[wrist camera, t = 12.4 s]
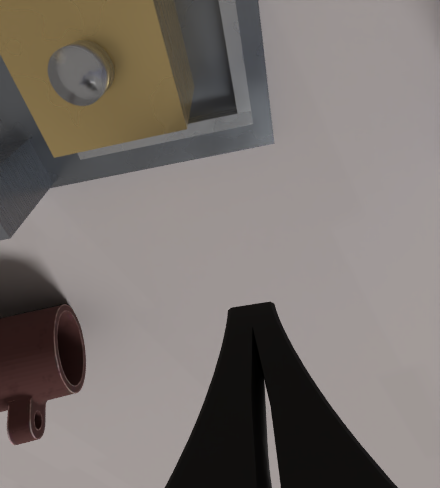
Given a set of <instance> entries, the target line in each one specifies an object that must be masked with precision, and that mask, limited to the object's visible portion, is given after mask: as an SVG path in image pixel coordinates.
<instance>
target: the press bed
mask: <svg viewBox="0 0 440 488" xmlns="http://www.w3.org/2000/svg"><path fill="white" fill-rule="evenodd" d="M174 2H175V6H176V11H177V15H178V19H179V23H180V28H181V32H182V36H183V40H184V44H185V49H186V53H187V57H188V61H189V66H190V70H191V74H192V78H193V83H194V93H193V98H192V104H191V110H190V116H189V121H188V127H187V129H186V130H181V131H177V132H172V133H167V134H163V135H158V136H153V137H149V138H144V139H139V140H135V141H130V142H125V143H121V144H116V145H111V146H107V147H102V148H98V149H93V150H88V151H84V152H79V153H74V154H70V155H65V156H60V157H56V158H54V157H53V155H52V153H51V151H50V149H49V147H48V145H47V143H46V141H45V139H44V138H43V136H42V134H41V132H40V130H39V128H38V126H37V124H36V122H35V120H34V118H33V116H32V115H31V113H30V111H29V109H28V107H27V105H26V103H25V101H24V99H23V97H22V95H21V93H20V91H19V90H18V88H17V86H16V84H15V82H14V80H13V78H12V76H11V74H10V72H9V70H8V68H7V66H6V65H5V63H4V61H3V59H2V57H1V55H0V240H4V239H9V238H11V237H12V235H13V234H14V233H15V232H16V230H17V229H18V228H19V227H20V225H21V224H22V223H23V222H24V220H25V219H26V218H27V216H28V215H29V214H30V213H31V211H32V210H33V209H34V208H35V206H36V205H37V204H38V202H39V201H40V200H41V199H42V197H43V196H44V195H45V194H46V192H47V191H48V190H49V188H53V187H58V186H63V185H68V184H73V183H78V182H83V181H88V180H93V179H98V178H103V177H108V176H113V175H118V174H123V173H128V172H133V171H138V170H143V169H148V168H153V167H159V166H164V165H169V164H174V163H179V162H184V161H189V160H194V159H199V158H204V157H209V156H214V155H219V154H224V153H229V152H234V151H239V150H244V149H249V148H254V147H259V146H264V145H269V144H274V138H273V129H272V120H271V111H270V102H269V93H268V84H267V76H266V67H265V58H264V49H263V40H262V31H261V22H260V13H259V5H258V0H174Z"/></svg>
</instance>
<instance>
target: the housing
mask: <svg viewBox="0 0 440 488" xmlns="http://www.w3.org/2000/svg"><path fill="white" fill-rule="evenodd" d="M0 55H1V57H2V59H3V61H4V63H5V65H6V66H7V68H8V70H9V72H10V74H11V76H12V78H13V80H14V82H15V84H16V86H17V88H18V90H19V91H20V93H21V95H22V97H23V99H24V101H25V103H26V105H27V107H28V109H29V111H30V113H31V115H32V116H33V118H34V120H35V122H36V124H37V126H38V128H39V130H40V132H41V134H42V136H43V138H44V139H45V141H46V143H47V145H48V147H49V149H50V151H51V153H52V155H53V157H54V158H56V157H60V156H65V155H70V154H74V153H79V152H84V151H88V150H93V149H98V148H102V147H107V146H111V145H116V144H121V143H125V142H130V141H135V140H139V139H144V138H149V137H153V136H158V135H163V134H167V133H172V132H177V131H181V130H186V129H187V127H188V121H189V116H190V110H191V104H192V98H193V93H194V83H193V78H192V74H191V70H190V66H189V61H188V57H187V53H186V49H185V44H184V40H183V36H182V32H181V28H180V23H179V19H178V15H177V11H176V6H175V2H174V0H0Z"/></svg>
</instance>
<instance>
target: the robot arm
mask: <svg viewBox="0 0 440 488" xmlns="http://www.w3.org/2000/svg"><path fill="white" fill-rule="evenodd" d="M264 380H265V384H266V388H267V393H268V397H269V401H270V405H271V413H272V421H273V428H274V436H275V444H276V452H277V459H278V467H279V475H280V483H281V488H398V487H397V486H396V485H395V484H394V483H393V482H392V481H391V480H390V478H389V477H388V476H387V475H386V474H385V473H384V471H383V470H382V469H381V468H380V467H379V466H378V464H377V463H376V462H375V461H374V460H373V458H372V457H371V456H370V455H369V454H368V453H367V451H366V450H365V449H364V448H363V447H362V446H361V444H360V443H359V442H358V441H357V439H356V438H355V437H354V436H353V434H352V433H351V432H350V431H349V429H348V428H347V427H346V425H345V424H344V423H343V422H342V420H341V419H340V418H339V416H338V415H337V414H336V412H335V411H334V410H333V408H332V407H331V405H330V404H329V403H328V401H327V400H326V398H325V397H324V396H323V394H322V393H321V391H320V390H319V388H318V387H317V385H316V384H315V382H314V381H313V379H312V378H311V376H310V375H309V373H308V371H307V370H306V368H305V367H304V365H303V363H302V362H301V360H300V358H299V356H298V355H297V353H296V351H295V350H294V348H293V346H292V344H291V342H290V340H289V339H288V337H287V335H286V333H285V330H284V328H283V326H282V324H281V322H280V319H279V317H278V314H277V311H276V308H275V305H274V303H272V302H265V303H259V304H252V305H246V306H239V307H233V308H230V309H229V310H228V317H227V324H226V329H225V334H224V339H223V343H222V347H221V351H220V354H219V358H218V361H217V365H216V368H215V372H214V375H213V378H212V381H211V384H210V386H209V389H208V392H207V395H206V398H205V401H204V403H203V406H202V409H201V411H200V414H199V416H198V419H197V421H196V424H195V426H194V428H193V430H192V433H191V435H190V437H189V440H188V442H187V444H186V446H185V448H184V450H183V452H182V454H181V457H180V459H179V461H178V463H177V465H176V467H175V469H174V471H173V473H172V475H171V477H170V479H169V481H168V483H167V484H166V486H165V488H272V485H271V478H270V470H269V459H268V444H267V425H266V405H265V386H264Z"/></svg>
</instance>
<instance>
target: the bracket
mask: <svg viewBox="0 0 440 488" xmlns="http://www.w3.org/2000/svg"><path fill="white" fill-rule="evenodd" d="M85 371H86V355H85V345H84V339H83V334H82V330H81V327H80V324H79V321H78V319H77V317H76V315H75V313H74V311H73V310H72V308H71V307H70V306H68V305H66V304H64V305H59V306H55V307H50V308H46V309H41V310H36V311H32V312H27V313H23V314H18V315H13V316H9V317H4V318H0V412H2V411H6V410H8V417H7V434H8V438H9V440H10V442H11V443H12V444H13V445H18V444H22V443H26V442H30V441H34V440H37V439H40V438H41V437H42V436H43V433H44V430H45V415H46V402H47V401H48V400H50V399H54V398H58V397H62V396H66V395H70V394H74V393H78V392H79V391H80V390H81V388H82V386H83V383H84V379H85Z"/></svg>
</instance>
